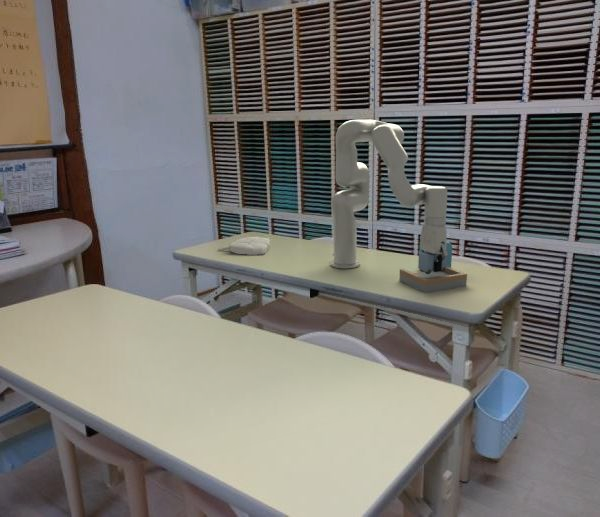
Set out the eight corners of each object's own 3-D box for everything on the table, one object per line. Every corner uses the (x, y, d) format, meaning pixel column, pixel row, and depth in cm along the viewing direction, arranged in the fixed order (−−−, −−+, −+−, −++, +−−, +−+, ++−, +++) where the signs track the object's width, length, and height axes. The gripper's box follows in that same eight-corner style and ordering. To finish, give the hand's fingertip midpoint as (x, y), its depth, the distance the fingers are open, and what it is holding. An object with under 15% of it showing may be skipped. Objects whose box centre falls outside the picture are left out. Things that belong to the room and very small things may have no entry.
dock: (399, 280, 188) (399, 269, 187) (438, 274, 195) (438, 263, 194) (425, 292, 174) (425, 280, 173) (466, 285, 181) (467, 273, 180)
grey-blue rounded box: (417, 271, 184) (418, 252, 183) (437, 268, 188) (438, 249, 186) (426, 275, 179) (427, 256, 178) (447, 272, 183) (448, 253, 181)
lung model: (266, 255, 230) (214, 260, 233) (272, 247, 247) (223, 251, 250) (264, 241, 229) (211, 246, 232) (270, 234, 245) (221, 239, 248)
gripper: (412, 218, 185) (410, 265, 190) (441, 226, 170) (438, 277, 174) (428, 216, 188) (426, 262, 192) (459, 224, 172) (456, 274, 177)
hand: (432, 269), depth 183 cm, fingers closed on grey-blue rounded box, 5 cm apart
